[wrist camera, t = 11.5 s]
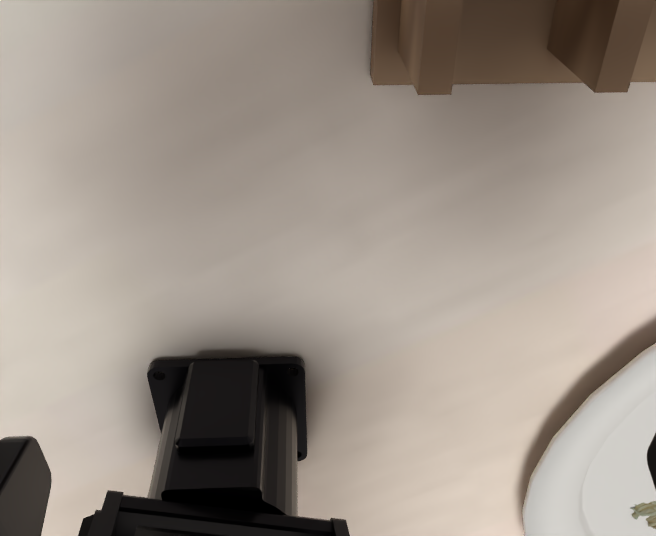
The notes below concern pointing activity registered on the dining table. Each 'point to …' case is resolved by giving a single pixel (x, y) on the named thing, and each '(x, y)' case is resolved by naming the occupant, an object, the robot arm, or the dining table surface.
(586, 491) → the plated food
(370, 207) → the dining table surface
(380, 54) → the dish rack
